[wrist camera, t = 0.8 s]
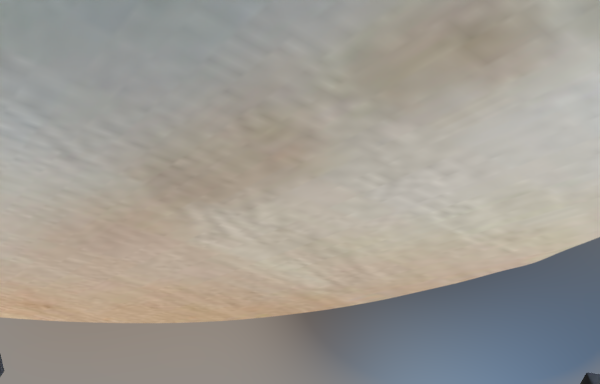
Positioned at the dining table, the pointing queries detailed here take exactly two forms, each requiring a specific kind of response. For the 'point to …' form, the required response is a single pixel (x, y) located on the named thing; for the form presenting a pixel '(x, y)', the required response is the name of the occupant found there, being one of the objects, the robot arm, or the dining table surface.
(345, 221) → the dining table surface
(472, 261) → the dining table surface
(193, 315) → the dining table surface
